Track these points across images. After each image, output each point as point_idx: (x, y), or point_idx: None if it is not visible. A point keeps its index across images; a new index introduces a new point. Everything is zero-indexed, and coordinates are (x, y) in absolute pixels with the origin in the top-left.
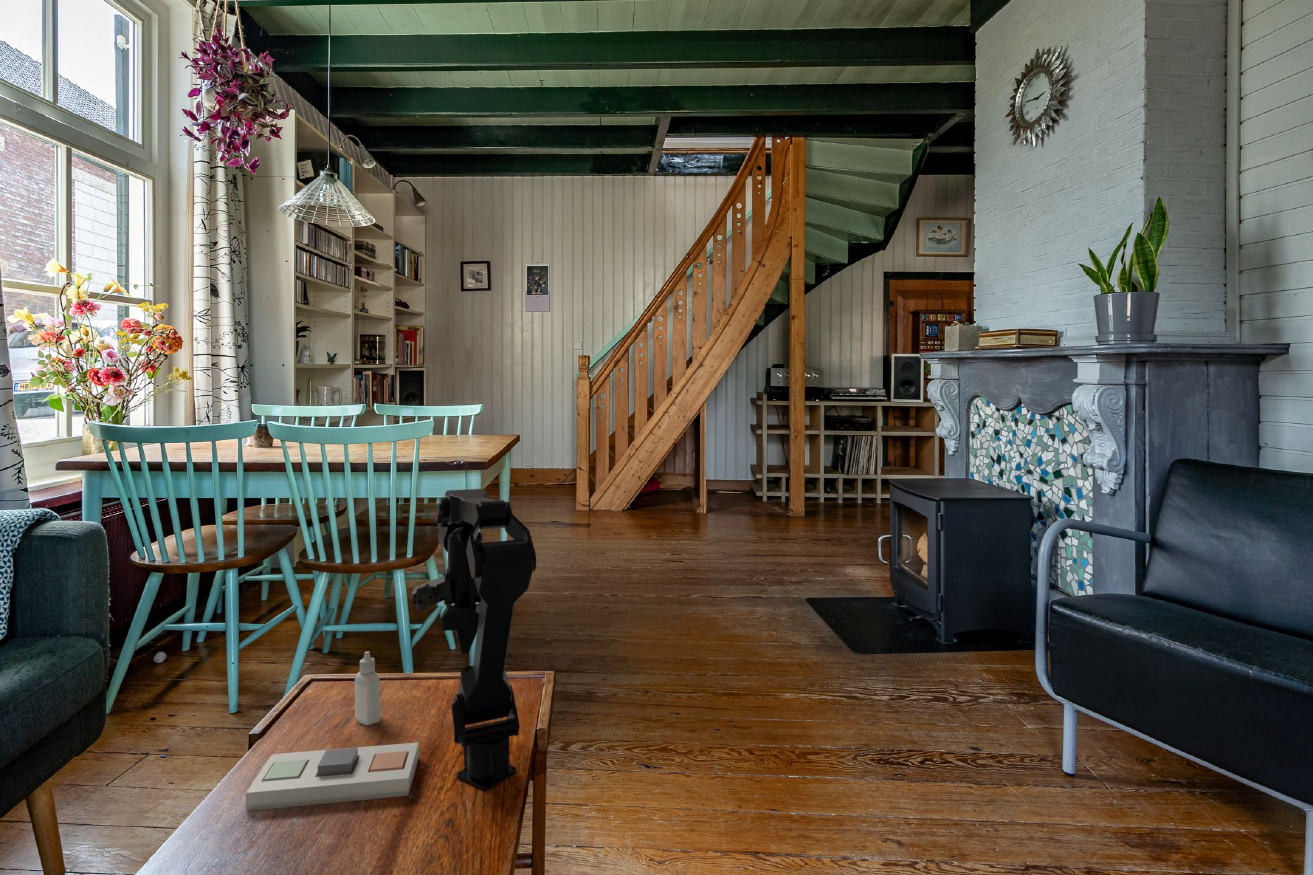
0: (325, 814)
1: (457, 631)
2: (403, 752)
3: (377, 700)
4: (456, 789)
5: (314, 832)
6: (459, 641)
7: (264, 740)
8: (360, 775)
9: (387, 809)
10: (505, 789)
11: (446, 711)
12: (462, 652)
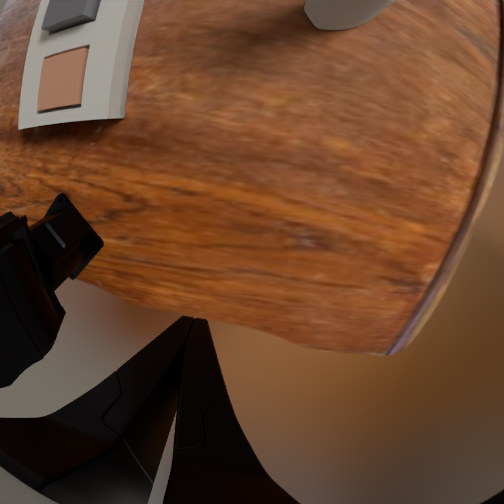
0: None
1: (78, 402)
2: (74, 98)
3: (322, 4)
4: (41, 193)
5: (14, 39)
6: (136, 356)
7: None
8: (39, 50)
9: None
10: None
11: (327, 173)
12: (178, 321)
